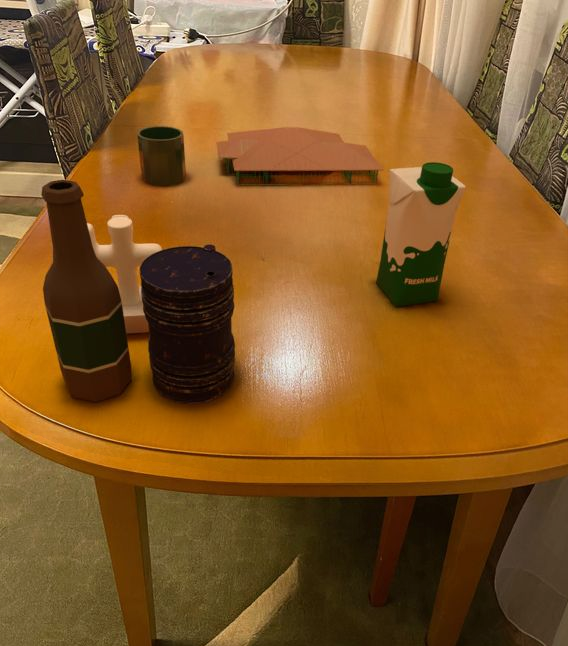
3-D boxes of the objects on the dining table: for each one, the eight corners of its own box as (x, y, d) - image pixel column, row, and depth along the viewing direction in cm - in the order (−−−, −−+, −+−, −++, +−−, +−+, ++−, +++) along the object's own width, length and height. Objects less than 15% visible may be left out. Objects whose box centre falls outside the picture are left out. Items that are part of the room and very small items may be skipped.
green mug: (193, 181, 121) (191, 136, 115) (153, 189, 117) (148, 142, 111) (168, 163, 128) (164, 119, 123) (129, 170, 124) (123, 125, 118)
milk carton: (392, 311, 87) (415, 176, 75) (367, 280, 94) (385, 151, 82) (446, 304, 89) (476, 172, 77) (418, 273, 96) (442, 148, 84)
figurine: (170, 337, 79) (160, 231, 70) (94, 341, 77) (74, 234, 68) (169, 307, 84) (160, 206, 75) (99, 310, 83) (81, 207, 74)
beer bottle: (103, 353, 75) (69, 163, 61) (147, 378, 72) (121, 184, 57) (49, 384, 70) (-3, 185, 56) (93, 413, 67) (51, 209, 52)
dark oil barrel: (135, 389, 70) (114, 250, 59) (179, 344, 78) (167, 213, 67) (211, 414, 68) (204, 273, 57) (249, 364, 75) (249, 232, 64)
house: (215, 147, 138) (213, 110, 133) (355, 148, 143) (359, 112, 138) (220, 186, 120) (219, 145, 115) (381, 185, 125) (386, 145, 120)
